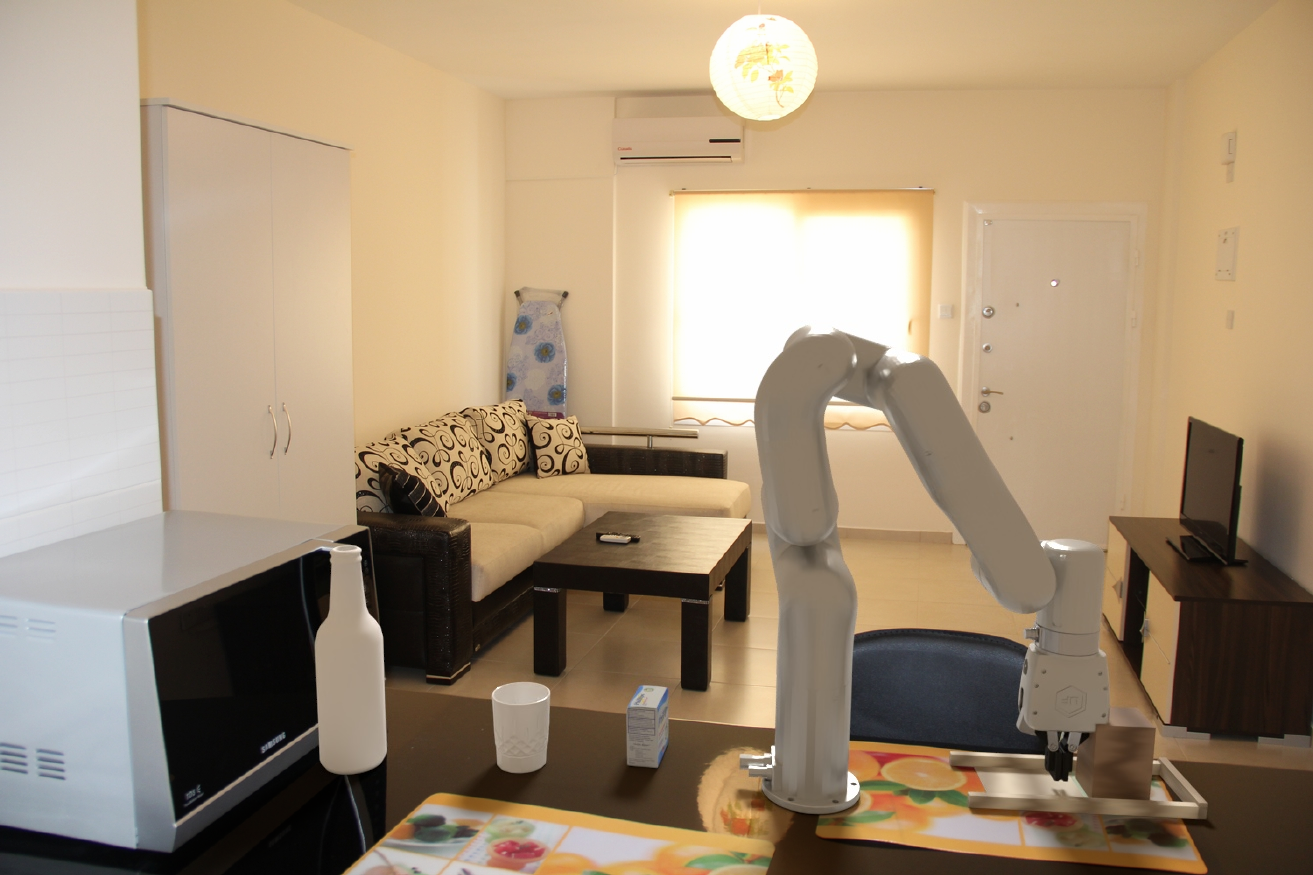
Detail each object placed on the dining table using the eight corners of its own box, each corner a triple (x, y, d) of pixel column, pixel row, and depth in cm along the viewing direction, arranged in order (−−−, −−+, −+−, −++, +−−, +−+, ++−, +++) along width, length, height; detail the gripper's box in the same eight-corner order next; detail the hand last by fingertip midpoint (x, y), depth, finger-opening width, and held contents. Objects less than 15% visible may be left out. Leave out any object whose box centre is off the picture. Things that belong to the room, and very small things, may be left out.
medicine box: (657, 769, 134) (658, 708, 133) (625, 766, 135) (626, 705, 134) (668, 743, 142) (669, 686, 141) (638, 740, 143) (638, 683, 141)
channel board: (968, 818, 122) (969, 791, 122) (948, 771, 134) (949, 747, 133) (1205, 830, 120) (1207, 803, 119) (1163, 782, 132) (1165, 757, 131)
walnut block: (1091, 800, 123) (1096, 725, 122) (1075, 777, 129) (1080, 705, 128) (1149, 803, 123) (1155, 727, 121) (1130, 780, 129) (1136, 707, 127)
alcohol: (307, 771, 133) (296, 554, 128) (342, 743, 141) (334, 538, 137) (366, 779, 131) (358, 559, 126) (398, 750, 139) (391, 542, 135)
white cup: (562, 758, 137) (561, 689, 136) (525, 781, 131) (524, 709, 129) (518, 744, 141) (517, 677, 140) (480, 766, 135) (479, 696, 133)
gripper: (1013, 647, 121) (1005, 788, 123) (1140, 651, 120) (1129, 793, 122) (997, 626, 128) (990, 760, 131) (1117, 630, 127) (1107, 765, 130)
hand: (1057, 776), depth 127 cm, fingers closed
